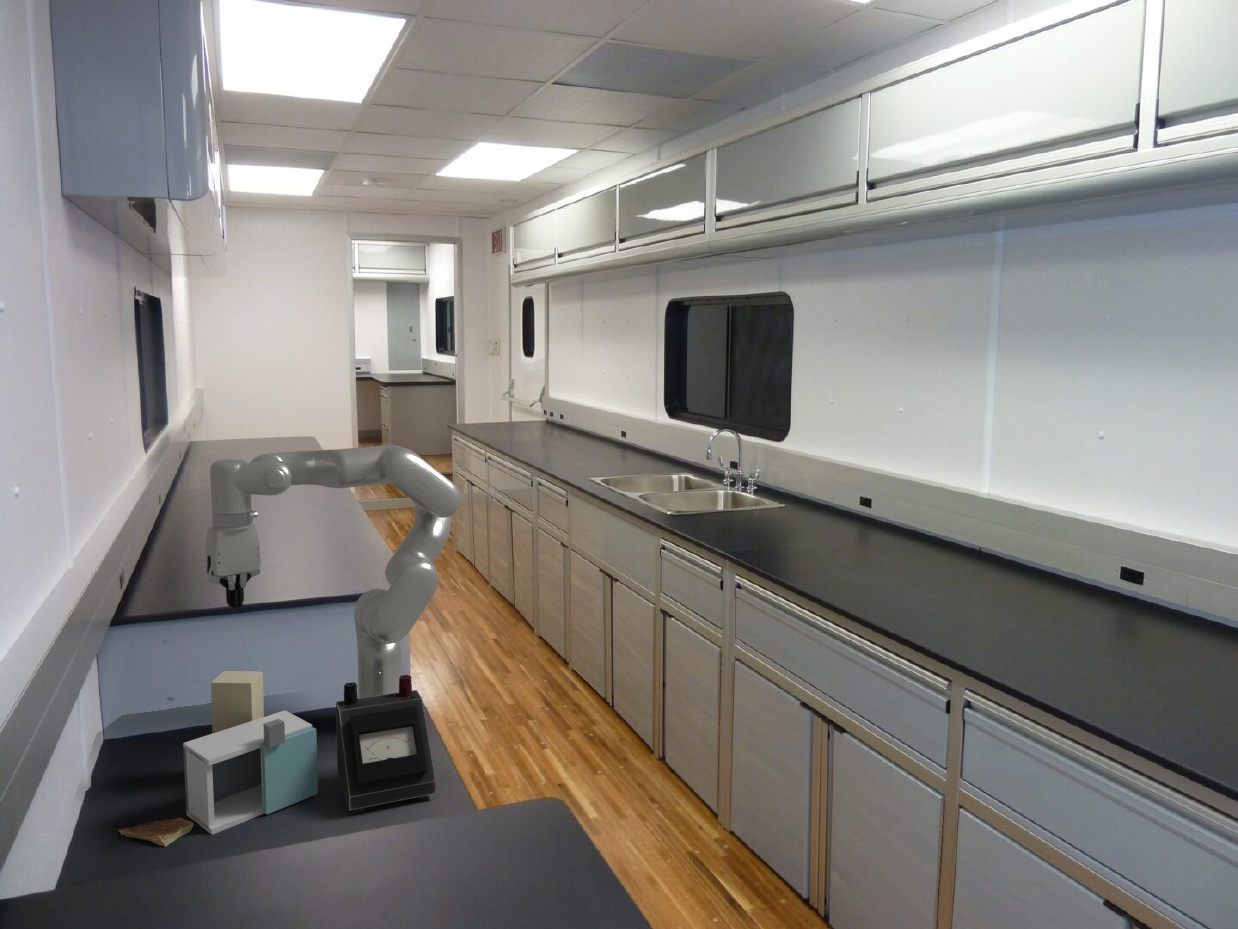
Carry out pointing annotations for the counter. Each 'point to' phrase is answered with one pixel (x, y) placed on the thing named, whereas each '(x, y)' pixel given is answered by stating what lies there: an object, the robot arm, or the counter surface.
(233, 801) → the storage cabinet
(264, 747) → the sliding door
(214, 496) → the robot arm
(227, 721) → the beige tall block
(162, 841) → the shard
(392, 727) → the voltmeter
